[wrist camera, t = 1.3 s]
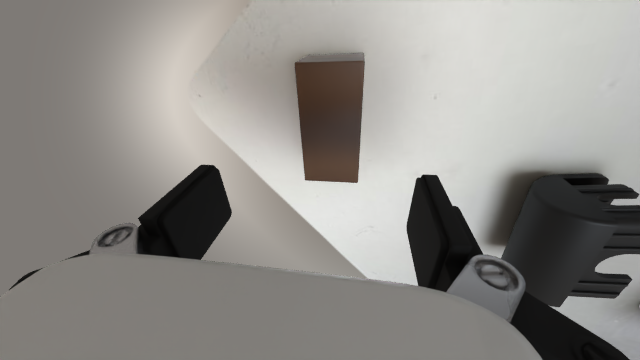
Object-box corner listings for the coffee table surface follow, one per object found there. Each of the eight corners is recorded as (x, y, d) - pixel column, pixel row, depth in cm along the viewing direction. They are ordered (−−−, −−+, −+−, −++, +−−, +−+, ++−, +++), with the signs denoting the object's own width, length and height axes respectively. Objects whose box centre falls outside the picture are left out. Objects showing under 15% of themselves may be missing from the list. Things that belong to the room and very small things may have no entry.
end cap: (512, 171, 22) (564, 223, 16) (608, 168, 20) (701, 224, 15) (486, 247, 27) (518, 305, 21) (560, 248, 25) (615, 312, 20)
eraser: (307, 54, 19) (294, 62, 15) (364, 52, 18) (364, 60, 14) (314, 155, 24) (304, 180, 20) (358, 157, 23) (357, 183, 19)
